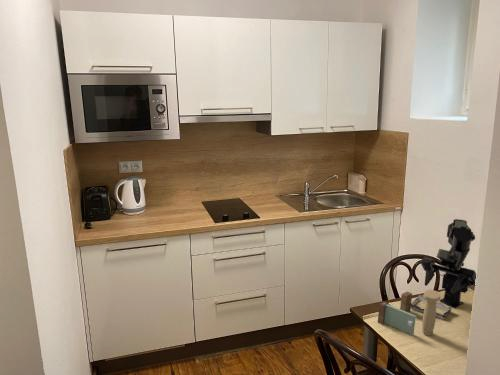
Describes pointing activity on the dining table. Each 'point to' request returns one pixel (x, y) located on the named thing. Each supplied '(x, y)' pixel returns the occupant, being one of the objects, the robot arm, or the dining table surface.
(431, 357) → the dining table surface
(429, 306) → the handle
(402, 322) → the door
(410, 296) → the door frame
